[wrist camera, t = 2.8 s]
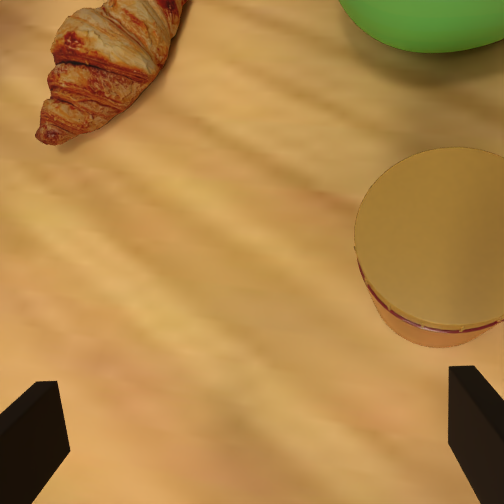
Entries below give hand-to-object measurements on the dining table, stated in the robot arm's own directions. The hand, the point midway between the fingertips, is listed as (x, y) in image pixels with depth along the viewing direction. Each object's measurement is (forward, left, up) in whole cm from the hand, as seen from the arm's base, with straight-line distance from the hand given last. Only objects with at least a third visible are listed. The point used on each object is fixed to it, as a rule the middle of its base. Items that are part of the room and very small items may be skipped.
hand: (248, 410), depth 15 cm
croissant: (-10, +33, -17) cm, 38 cm away
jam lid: (+9, +5, -5) cm, 11 cm away
